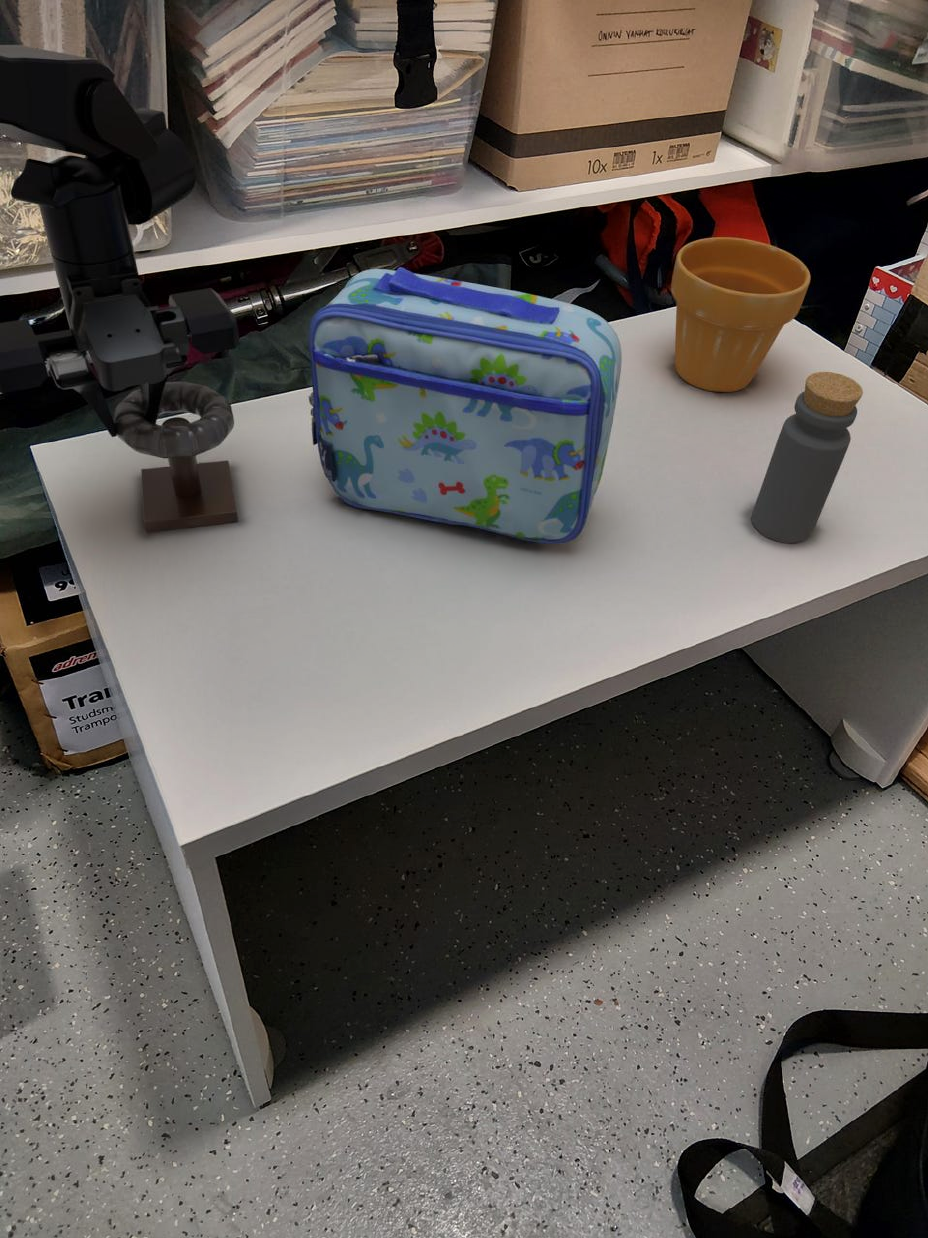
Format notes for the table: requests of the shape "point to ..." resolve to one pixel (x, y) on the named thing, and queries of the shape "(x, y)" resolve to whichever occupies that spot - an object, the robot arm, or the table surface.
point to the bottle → (807, 458)
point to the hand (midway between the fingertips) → (132, 430)
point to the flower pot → (732, 308)
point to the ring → (181, 437)
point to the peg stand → (187, 492)
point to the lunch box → (463, 403)
